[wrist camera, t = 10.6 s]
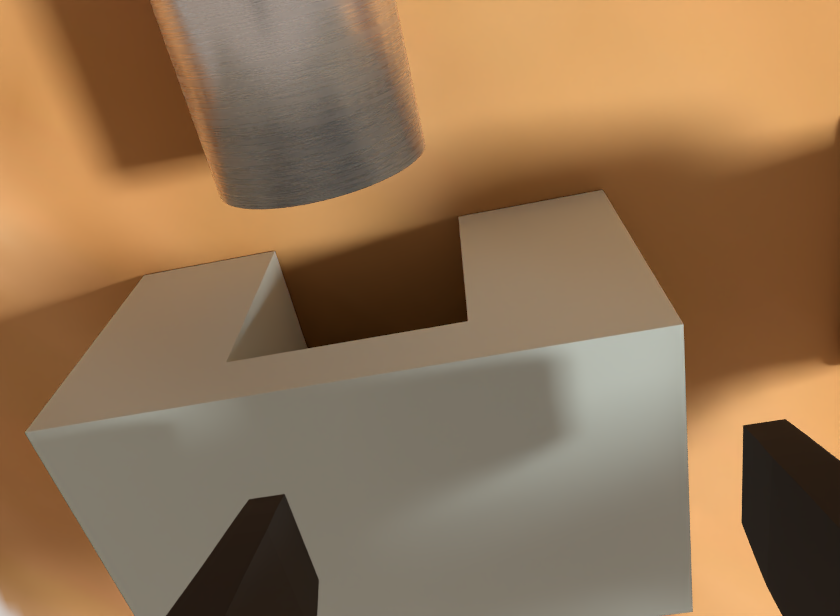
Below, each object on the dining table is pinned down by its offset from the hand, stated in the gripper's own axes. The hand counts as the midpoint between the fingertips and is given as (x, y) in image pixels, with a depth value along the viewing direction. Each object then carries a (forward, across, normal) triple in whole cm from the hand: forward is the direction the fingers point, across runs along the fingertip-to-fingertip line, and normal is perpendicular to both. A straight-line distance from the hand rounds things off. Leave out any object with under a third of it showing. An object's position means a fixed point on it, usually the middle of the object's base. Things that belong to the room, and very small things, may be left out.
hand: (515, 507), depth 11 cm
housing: (+10, +3, +3) cm, 11 cm away
